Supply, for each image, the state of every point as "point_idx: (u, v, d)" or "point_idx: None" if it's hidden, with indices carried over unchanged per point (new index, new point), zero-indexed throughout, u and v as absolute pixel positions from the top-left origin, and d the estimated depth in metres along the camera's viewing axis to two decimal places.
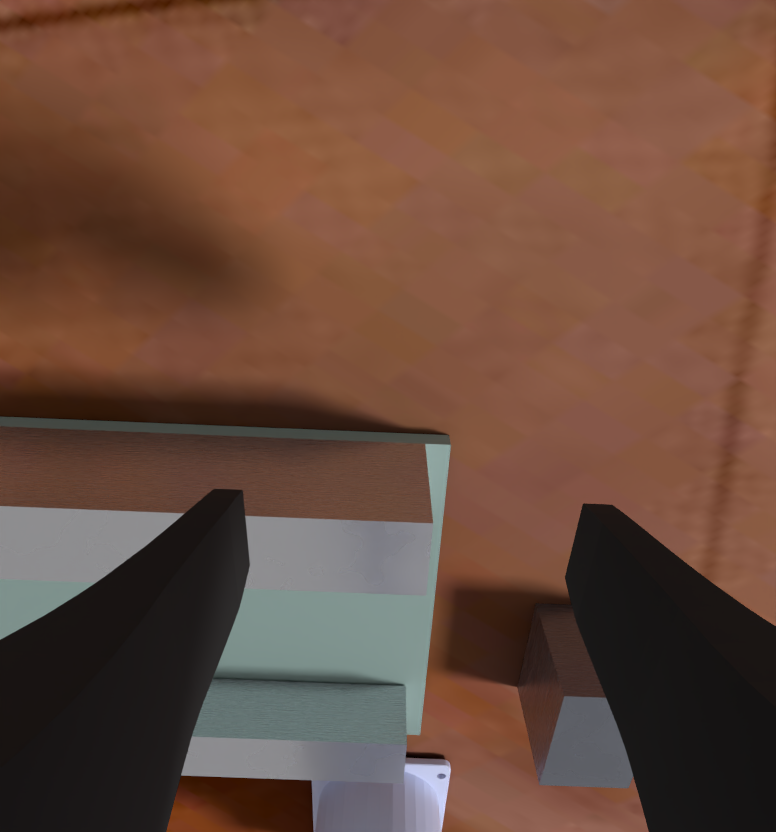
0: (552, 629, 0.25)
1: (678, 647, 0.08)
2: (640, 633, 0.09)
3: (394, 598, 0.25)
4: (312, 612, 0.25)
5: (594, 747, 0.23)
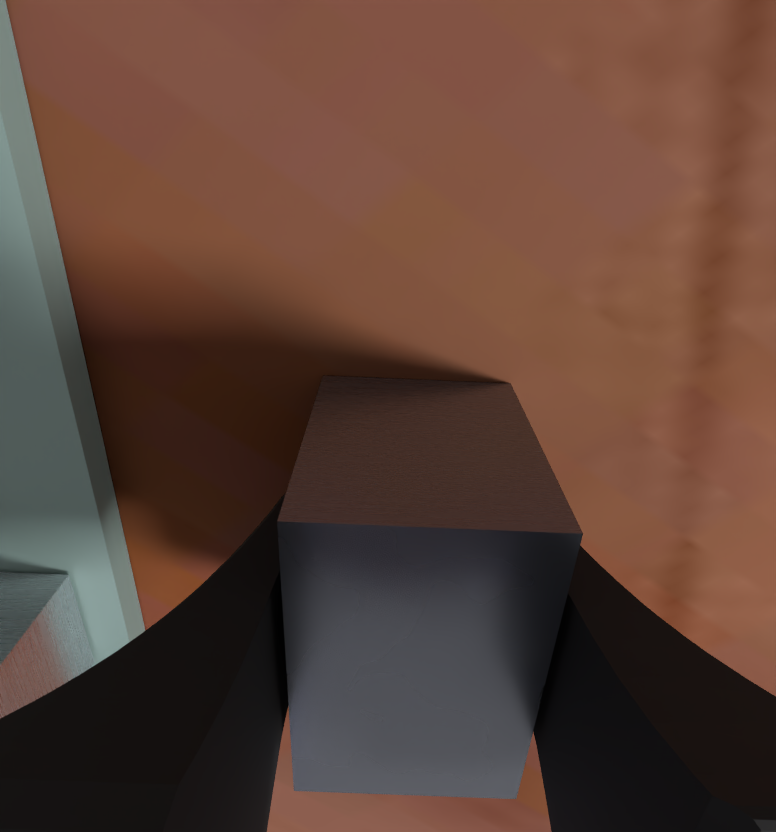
0: (335, 410, 0.10)
1: (572, 643, 0.08)
2: None
3: None
4: None
5: (409, 691, 0.09)
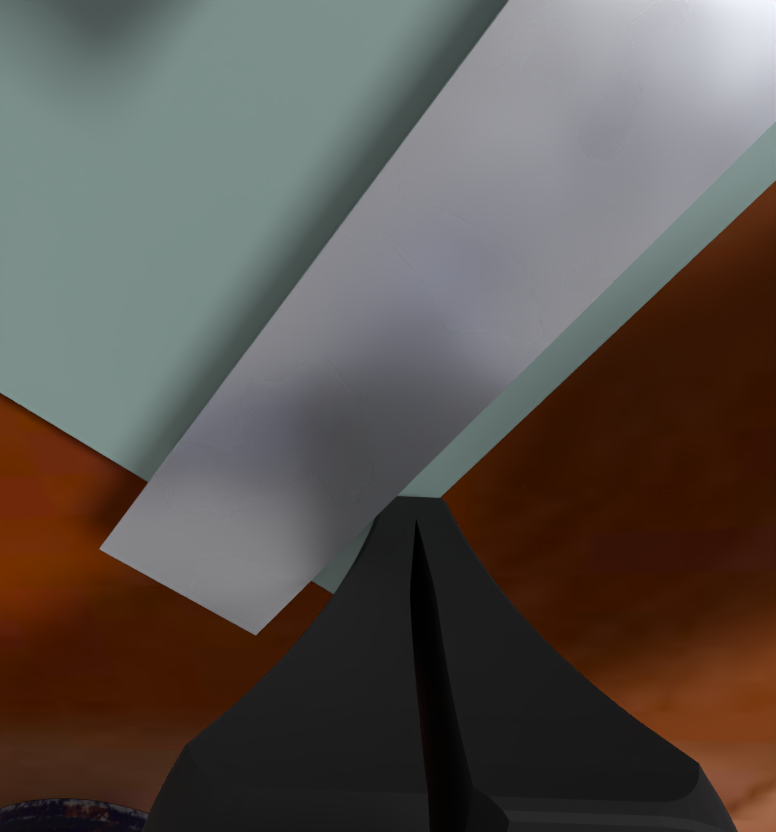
0: None
1: (434, 638, 0.08)
2: (425, 625, 0.09)
3: None
4: None
5: None
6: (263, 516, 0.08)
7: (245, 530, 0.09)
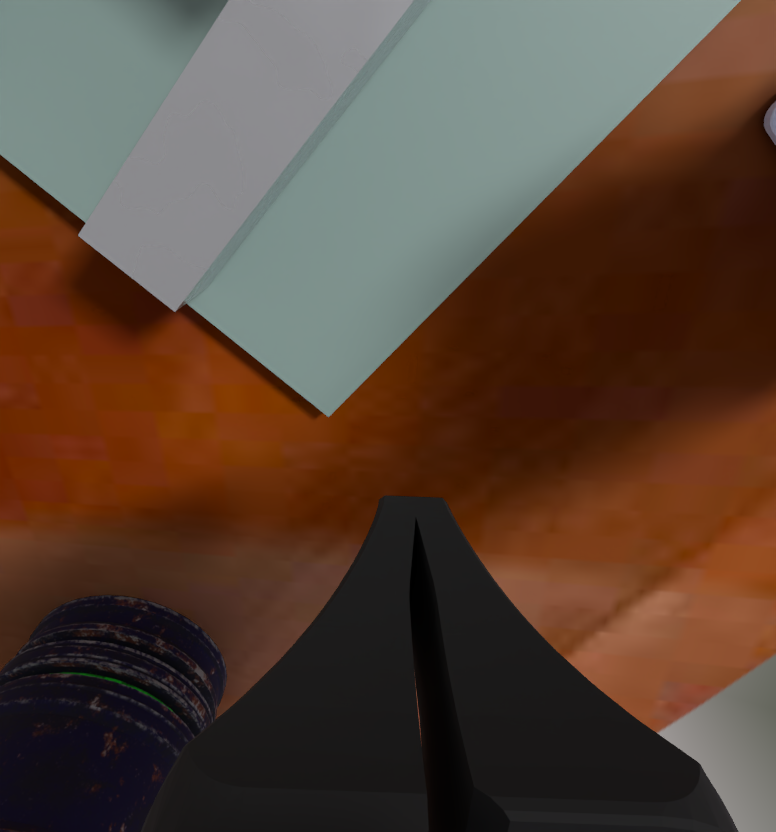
0: None
1: (434, 638, 0.08)
2: (426, 625, 0.09)
3: None
4: None
5: None
6: (179, 215, 0.14)
7: (168, 225, 0.14)
